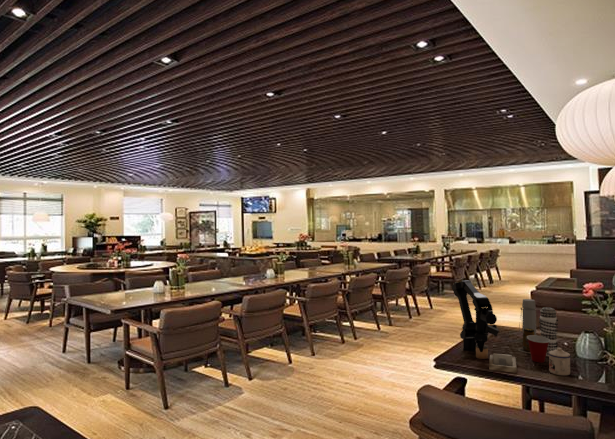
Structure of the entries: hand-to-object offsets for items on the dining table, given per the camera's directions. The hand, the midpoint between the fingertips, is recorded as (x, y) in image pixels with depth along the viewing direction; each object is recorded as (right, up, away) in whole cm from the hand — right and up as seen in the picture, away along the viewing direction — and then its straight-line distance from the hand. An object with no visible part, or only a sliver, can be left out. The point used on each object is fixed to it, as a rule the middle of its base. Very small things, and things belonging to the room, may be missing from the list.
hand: (481, 349), depth 231 cm
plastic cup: (+26, -4, -7) cm, 28 cm away
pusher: (+5, -3, -14) cm, 15 cm away
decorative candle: (+38, -4, +4) cm, 38 cm away
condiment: (+30, -4, +11) cm, 32 cm away
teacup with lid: (+27, -4, -26) cm, 38 cm away
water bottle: (+39, -4, +29) cm, 49 cm away
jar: (0, -4, 0) cm, 4 cm away
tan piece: (+5, -4, -14) cm, 15 cm away
